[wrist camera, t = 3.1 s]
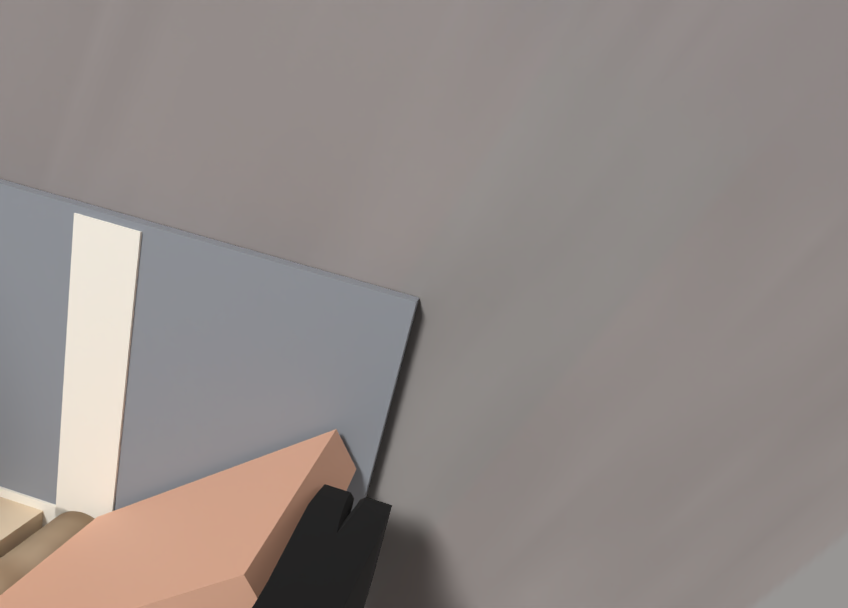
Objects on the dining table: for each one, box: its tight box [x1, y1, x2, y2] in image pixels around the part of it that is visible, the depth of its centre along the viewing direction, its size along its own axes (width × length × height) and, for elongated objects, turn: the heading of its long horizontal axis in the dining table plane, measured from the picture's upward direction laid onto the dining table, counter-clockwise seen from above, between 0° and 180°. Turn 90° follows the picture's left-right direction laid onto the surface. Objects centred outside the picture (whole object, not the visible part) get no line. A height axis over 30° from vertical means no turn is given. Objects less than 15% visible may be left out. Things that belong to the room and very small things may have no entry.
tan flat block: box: [0, 429, 356, 608], centre depth 10 cm, size 8×1×4 cm, turn 114°
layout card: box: [0, 179, 419, 527], centre depth 13 cm, size 16×14×1 cm
